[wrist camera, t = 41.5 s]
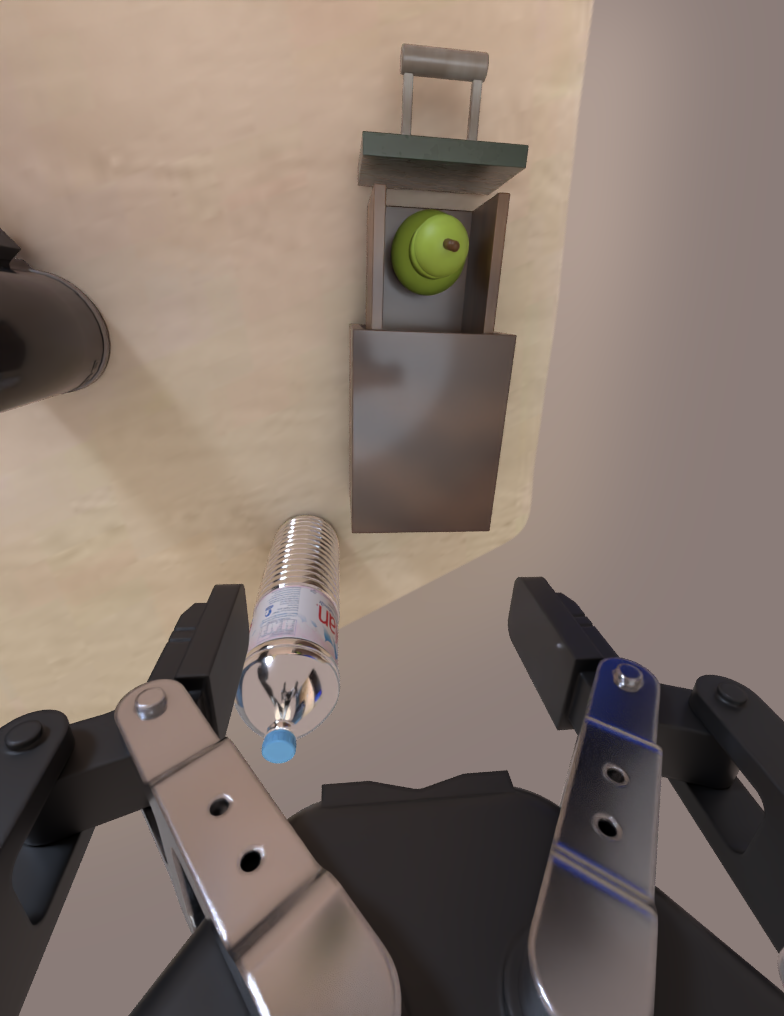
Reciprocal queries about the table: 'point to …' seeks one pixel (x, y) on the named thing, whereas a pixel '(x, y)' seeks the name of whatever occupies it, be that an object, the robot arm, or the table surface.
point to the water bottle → (293, 639)
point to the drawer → (437, 170)
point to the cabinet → (426, 428)
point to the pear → (429, 251)
